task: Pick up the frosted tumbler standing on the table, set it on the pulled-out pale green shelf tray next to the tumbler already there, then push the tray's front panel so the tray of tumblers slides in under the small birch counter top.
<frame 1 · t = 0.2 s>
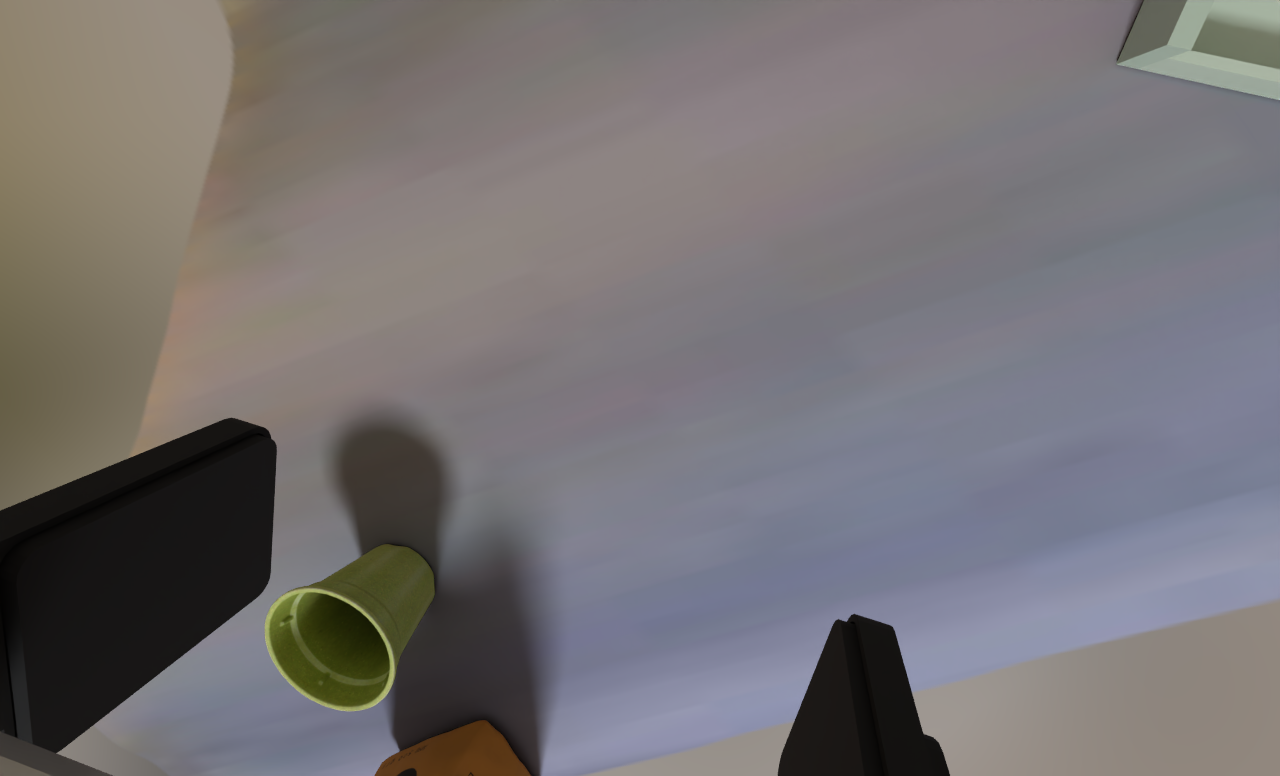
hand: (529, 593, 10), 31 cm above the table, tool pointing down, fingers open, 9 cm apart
plant pot: (401, 576, 50), on the table
coffee package: (466, 762, 55), on the table
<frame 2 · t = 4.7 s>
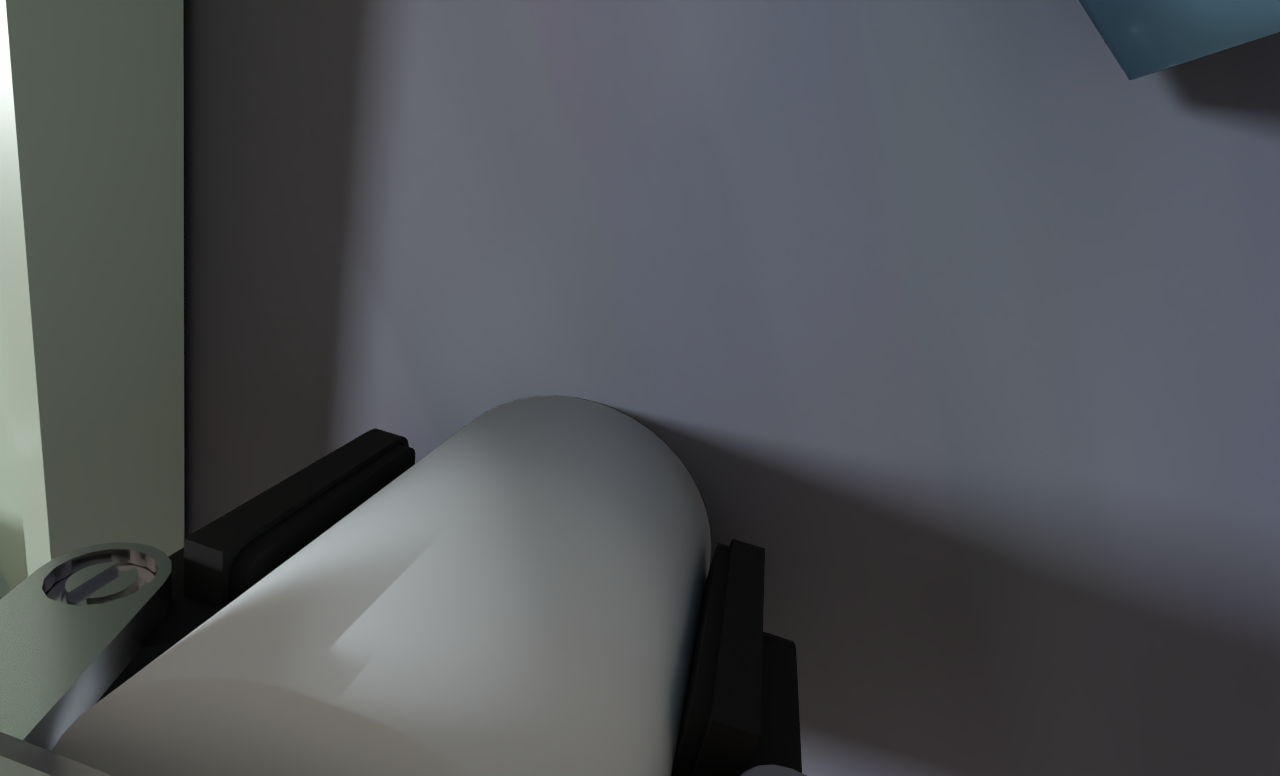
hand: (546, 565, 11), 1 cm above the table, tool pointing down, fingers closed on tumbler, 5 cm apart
tumbler: (565, 535, 12), on the table, touching gripper
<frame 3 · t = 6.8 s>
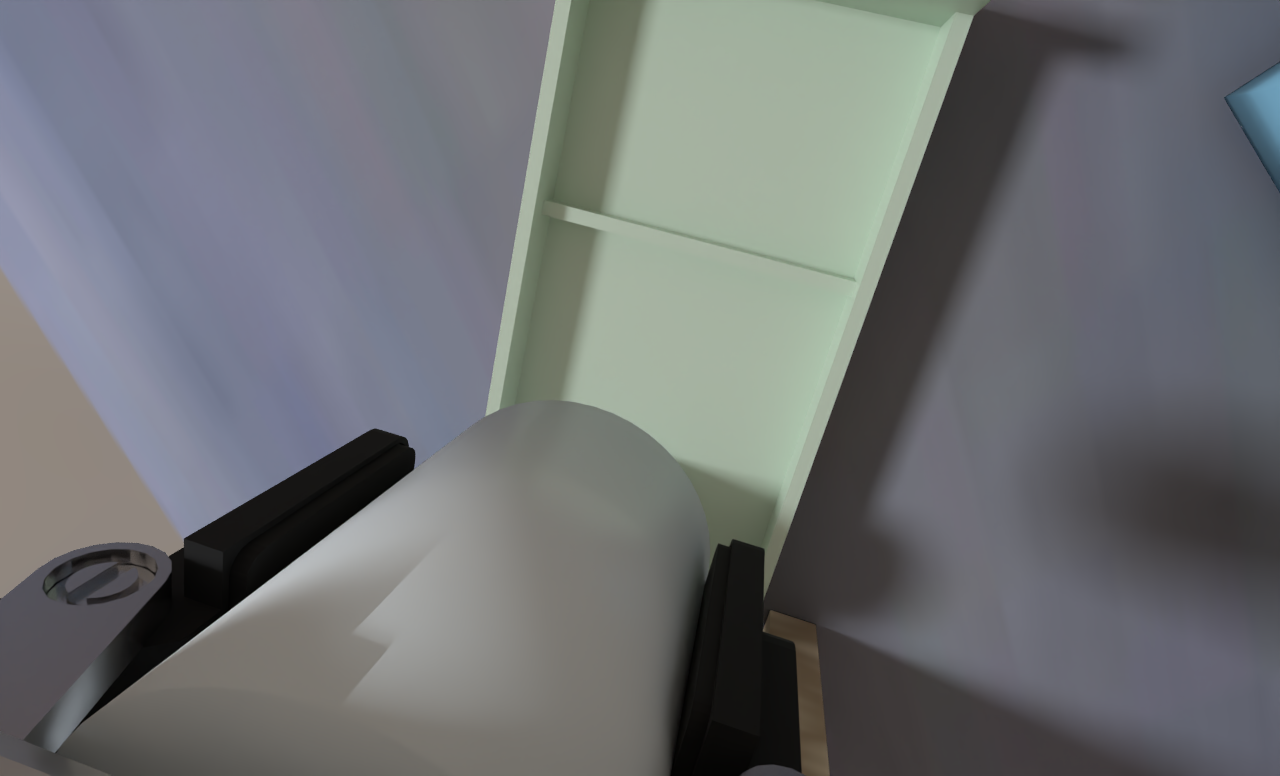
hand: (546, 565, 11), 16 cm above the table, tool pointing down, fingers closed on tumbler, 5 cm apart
tray: (672, 324, 23), point 2 cm above the table, slide at 12.0 cm, touching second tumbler
tumbler: (564, 539, 12), point 15 cm above the table, touching gripper
counter: (587, 672, 31), on the table
when the fingers open (3 cm above the table, at t = 9.1 s): tumbler drops 1 cm, resting on tray.
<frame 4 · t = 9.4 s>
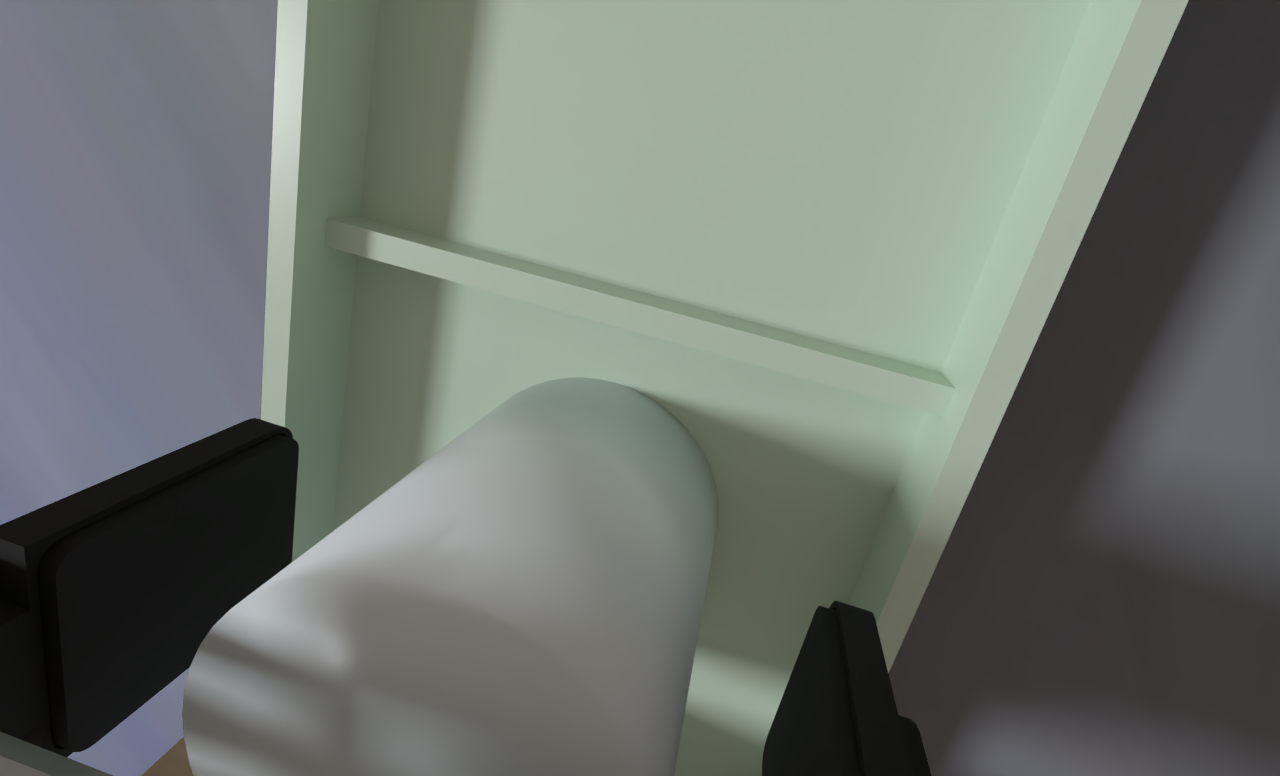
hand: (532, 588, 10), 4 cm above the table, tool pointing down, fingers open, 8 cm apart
tray: (581, 463, 12), point 2 cm above the table, slide at 12.0 cm, touching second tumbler, tumbler
tumbler: (587, 503, 13), point 1 cm above the table, touching tray
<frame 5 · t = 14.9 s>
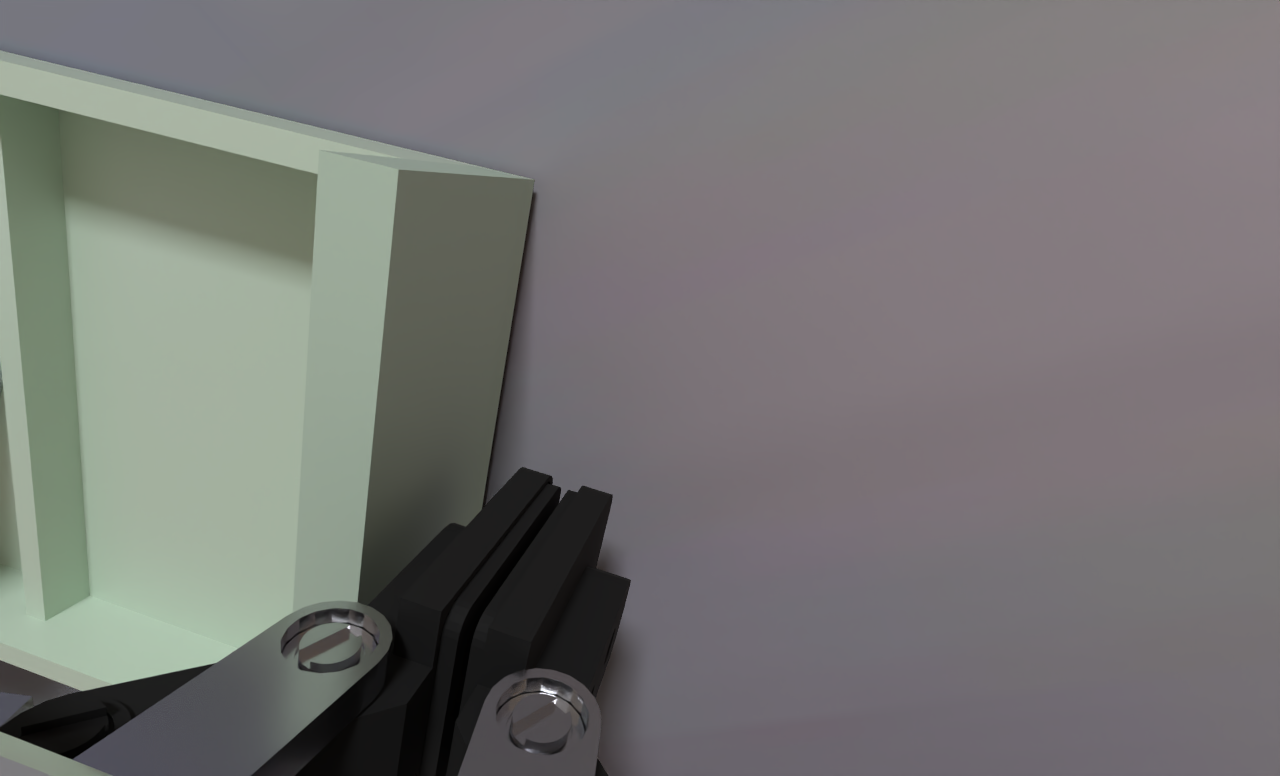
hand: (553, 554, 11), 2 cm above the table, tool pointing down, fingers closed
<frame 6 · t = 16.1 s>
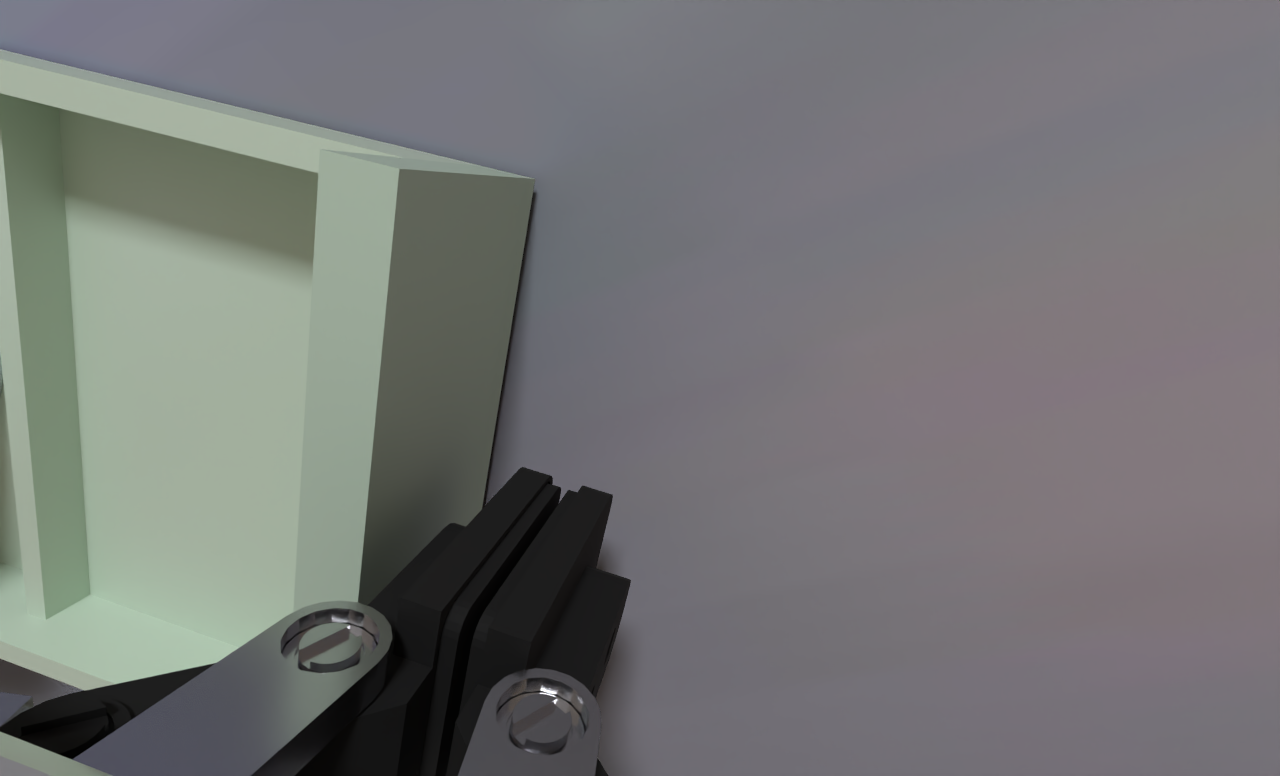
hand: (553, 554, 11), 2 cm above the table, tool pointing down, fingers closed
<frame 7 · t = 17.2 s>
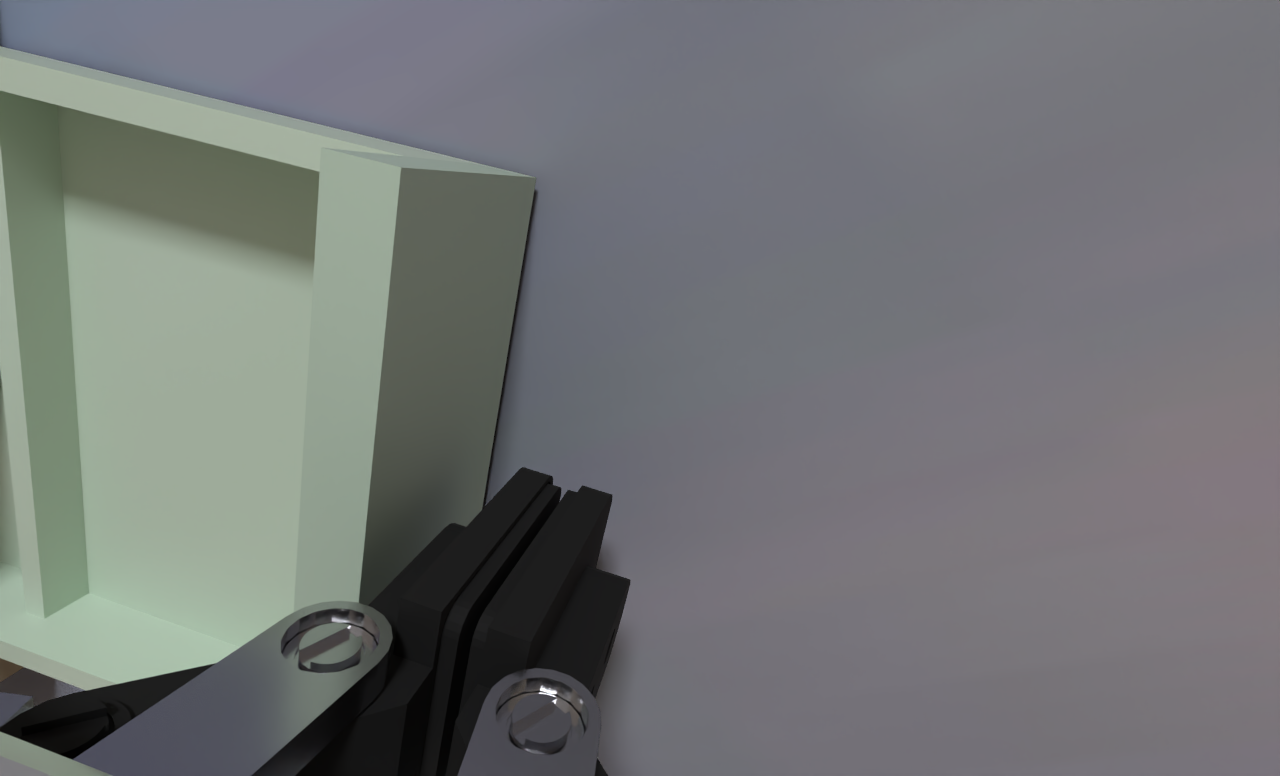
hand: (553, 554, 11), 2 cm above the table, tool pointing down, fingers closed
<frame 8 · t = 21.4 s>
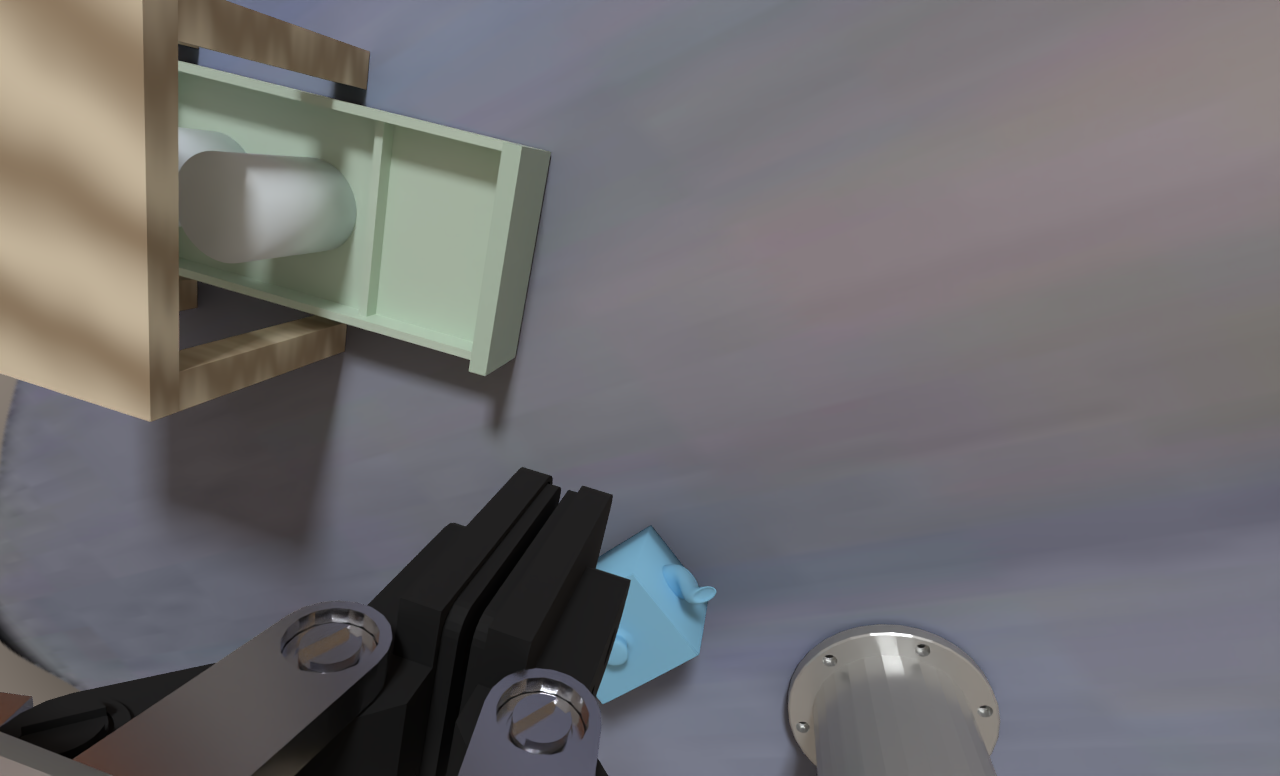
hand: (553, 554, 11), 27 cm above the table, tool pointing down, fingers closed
tray: (323, 211, 37), point 2 cm above the table, slide at 0.0 cm, touching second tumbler, tumbler
teapot: (650, 570, 43), on the table
tumbler: (315, 205, 39), point 1 cm above the table, touching tray
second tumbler: (217, 178, 39), point 1 cm above the table, touching tray
counter: (261, 187, 40), on the table
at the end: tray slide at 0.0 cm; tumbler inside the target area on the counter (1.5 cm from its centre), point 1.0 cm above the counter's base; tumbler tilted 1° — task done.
